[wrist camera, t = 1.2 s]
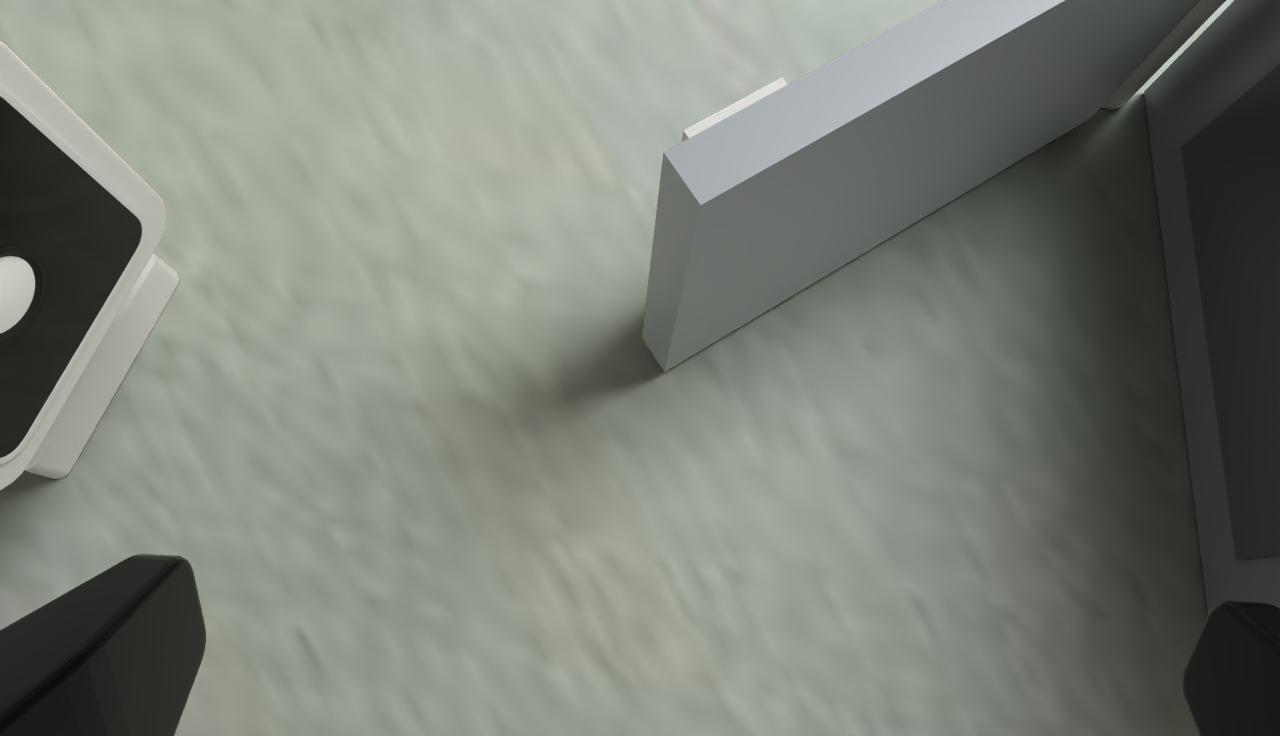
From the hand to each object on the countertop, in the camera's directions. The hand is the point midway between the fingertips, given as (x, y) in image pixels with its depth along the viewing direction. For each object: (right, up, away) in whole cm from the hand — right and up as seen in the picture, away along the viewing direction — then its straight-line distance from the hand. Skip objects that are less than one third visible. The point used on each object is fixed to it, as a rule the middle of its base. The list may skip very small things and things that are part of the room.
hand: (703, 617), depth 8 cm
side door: (+5, +6, +15) cm, 17 cm away
